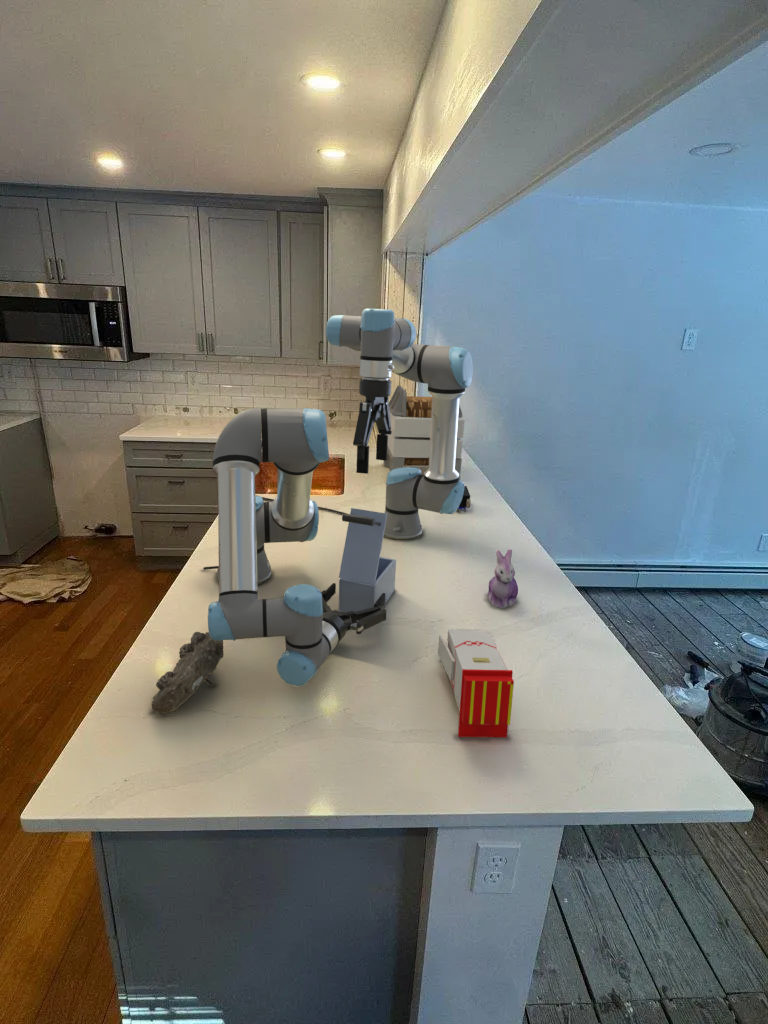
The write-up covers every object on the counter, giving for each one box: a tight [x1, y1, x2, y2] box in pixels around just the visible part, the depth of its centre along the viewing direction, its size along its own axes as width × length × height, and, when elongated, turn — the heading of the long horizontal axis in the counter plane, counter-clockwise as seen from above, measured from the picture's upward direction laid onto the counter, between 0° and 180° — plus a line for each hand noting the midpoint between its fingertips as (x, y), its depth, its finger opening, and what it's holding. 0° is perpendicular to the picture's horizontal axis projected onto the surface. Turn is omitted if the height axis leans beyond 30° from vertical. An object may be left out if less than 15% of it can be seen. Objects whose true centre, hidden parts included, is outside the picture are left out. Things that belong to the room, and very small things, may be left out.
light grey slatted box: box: [383, 384, 465, 481], centre depth 268 cm, size 34×33×41 cm
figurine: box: [487, 548, 519, 609], centre depth 154 cm, size 9×10×15 cm
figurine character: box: [456, 485, 472, 513], centre depth 228 cm, size 7×8×15 cm
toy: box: [437, 628, 515, 738], centre depth 117 cm, size 12×13×30 cm
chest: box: [338, 556, 397, 612], centre depth 152 cm, size 18×10×10 cm, turn 161°
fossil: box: [151, 631, 225, 714], centre depth 116 cm, size 22×10×15 cm
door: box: [338, 507, 387, 585], centre depth 139 cm, size 18×10×8 cm
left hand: (358, 592), depth 145 cm, fingers open, 13 cm apart
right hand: (372, 466), depth 140 cm, fingers open, 13 cm apart
